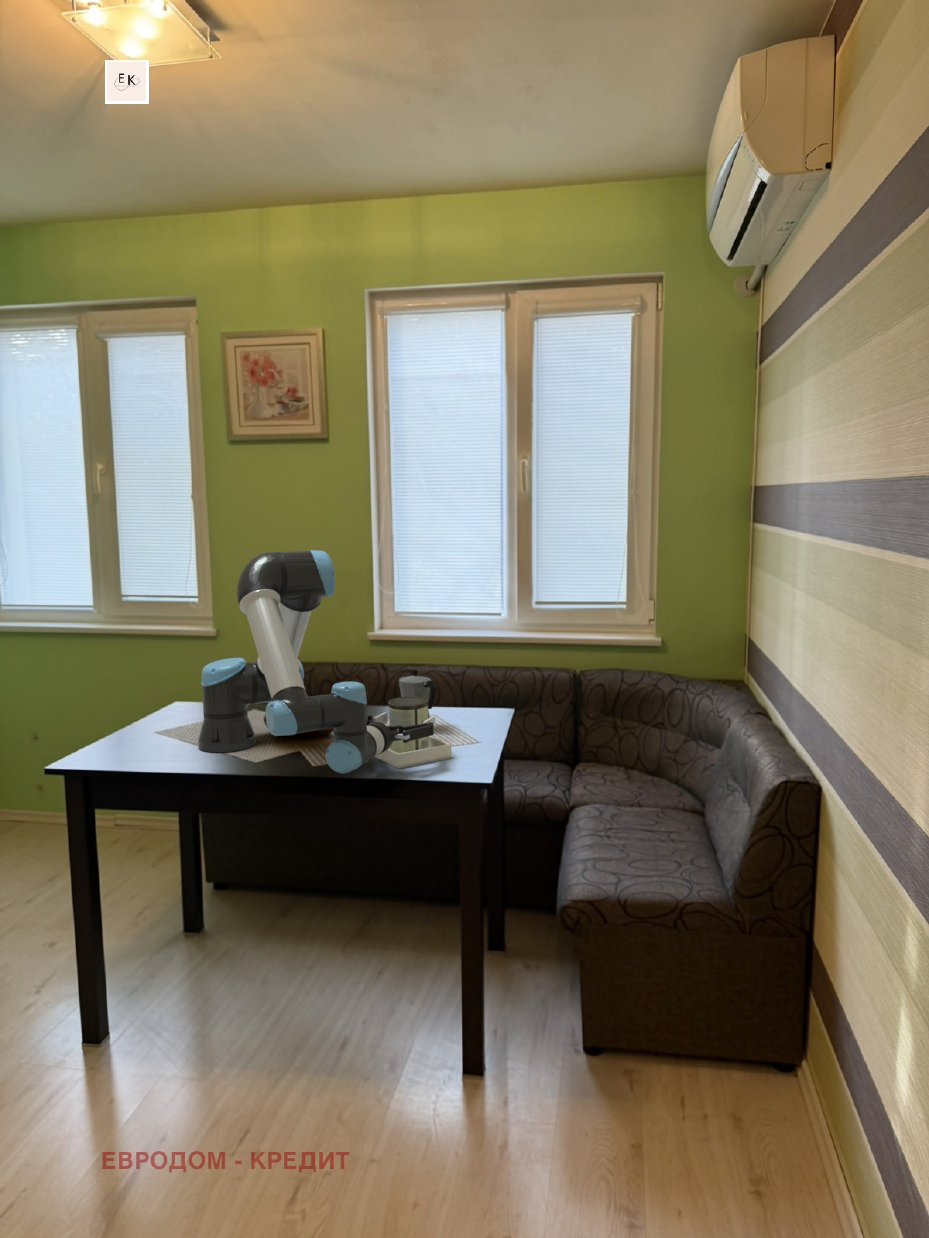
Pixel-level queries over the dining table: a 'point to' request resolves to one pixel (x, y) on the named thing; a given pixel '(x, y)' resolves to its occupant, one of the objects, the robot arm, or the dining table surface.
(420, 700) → the coffee can
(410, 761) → the tray
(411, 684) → the coffeepot
